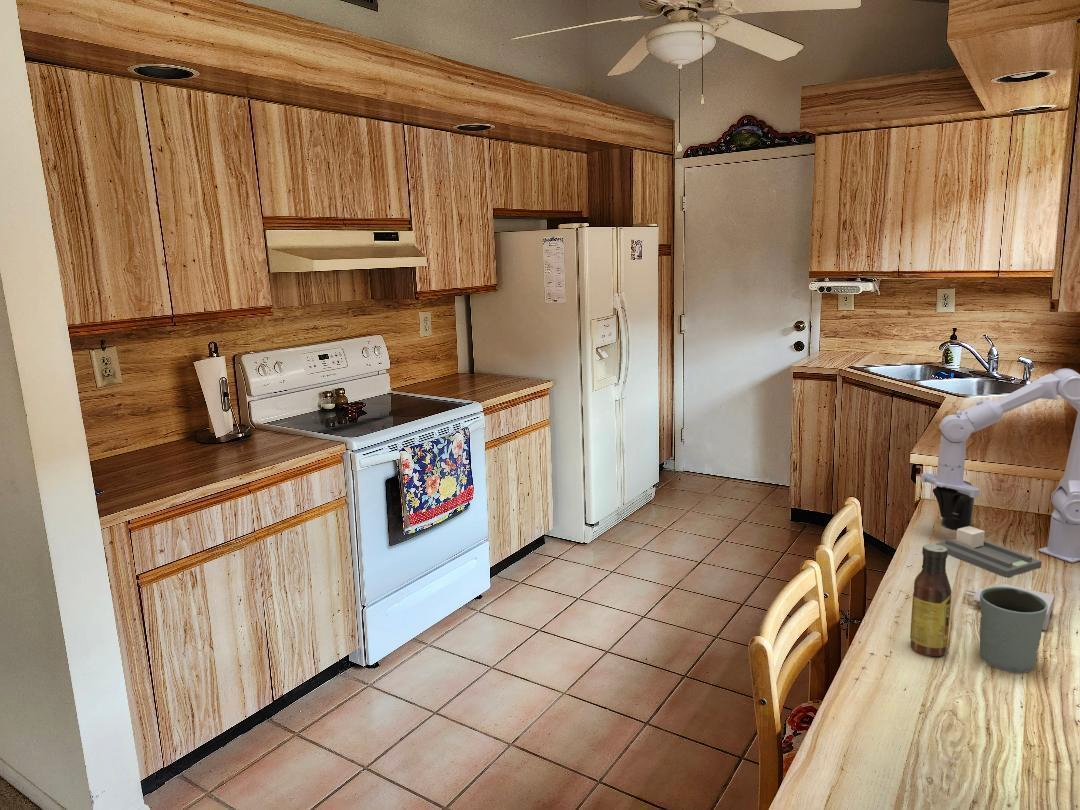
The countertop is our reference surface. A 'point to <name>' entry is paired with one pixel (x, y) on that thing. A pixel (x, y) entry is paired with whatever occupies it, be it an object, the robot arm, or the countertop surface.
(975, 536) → the slider knob
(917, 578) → the sauce bottle
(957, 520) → the supplement bottle
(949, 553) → the switch track
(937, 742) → the countertop surface
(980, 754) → the countertop surface
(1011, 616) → the grey cup
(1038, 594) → the charger
